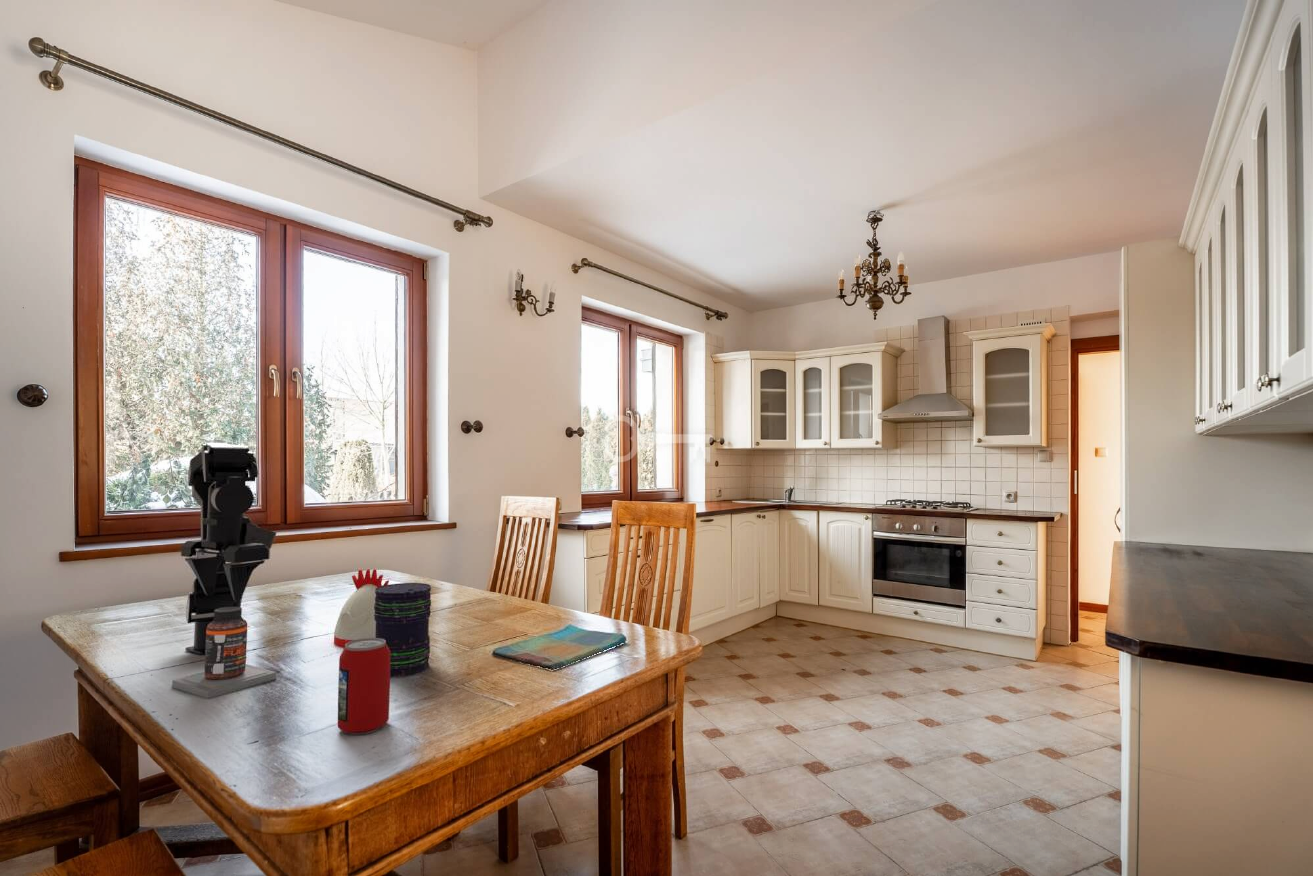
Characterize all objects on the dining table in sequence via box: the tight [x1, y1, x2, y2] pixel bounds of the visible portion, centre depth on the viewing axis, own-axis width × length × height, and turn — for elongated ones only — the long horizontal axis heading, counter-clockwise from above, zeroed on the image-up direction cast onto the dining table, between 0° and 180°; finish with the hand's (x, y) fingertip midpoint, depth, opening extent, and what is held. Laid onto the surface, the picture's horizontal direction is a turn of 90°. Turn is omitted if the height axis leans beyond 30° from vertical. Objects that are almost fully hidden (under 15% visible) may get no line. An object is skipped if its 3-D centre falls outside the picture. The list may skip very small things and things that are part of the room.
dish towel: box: [491, 623, 627, 670], centre depth 132 cm, size 17×23×2 cm
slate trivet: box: [171, 664, 277, 700], centre depth 110 cm, size 11×11×1 cm
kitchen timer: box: [333, 569, 390, 648], centre depth 139 cm, size 14×14×15 cm
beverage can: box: [337, 638, 391, 735], centre depth 92 cm, size 7×7×12 cm
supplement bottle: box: [203, 607, 248, 679], centre depth 111 cm, size 6×6×11 cm
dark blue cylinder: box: [374, 582, 432, 679], centre depth 119 cm, size 10×10×15 cm
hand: (223, 597), depth 119 cm, fingers open, 9 cm apart
